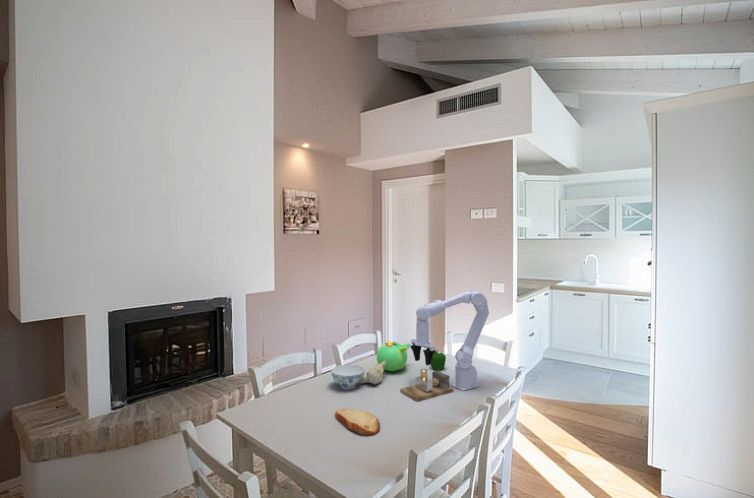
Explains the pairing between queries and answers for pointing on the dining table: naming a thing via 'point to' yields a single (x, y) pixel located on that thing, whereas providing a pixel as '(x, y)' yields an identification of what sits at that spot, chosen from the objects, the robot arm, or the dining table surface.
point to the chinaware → (347, 375)
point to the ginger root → (374, 374)
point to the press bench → (439, 389)
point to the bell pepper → (438, 361)
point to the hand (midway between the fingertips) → (422, 362)
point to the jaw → (424, 381)
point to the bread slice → (358, 421)
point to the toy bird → (393, 355)
